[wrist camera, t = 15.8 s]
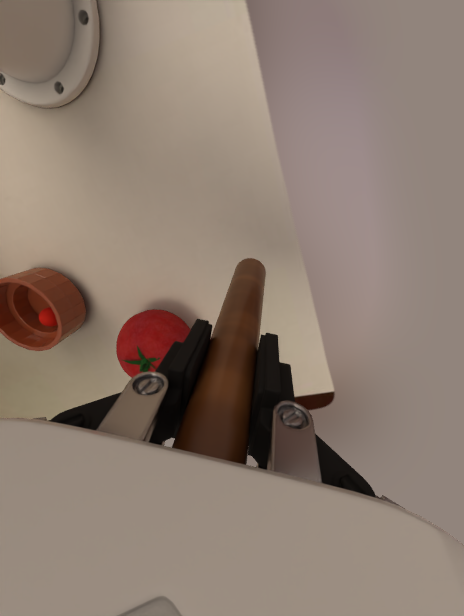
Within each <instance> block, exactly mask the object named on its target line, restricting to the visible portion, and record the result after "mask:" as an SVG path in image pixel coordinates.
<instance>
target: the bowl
mask: <svg viewBox="0 0 464 616" xmlns="http://www.w3.org/2000/svg"><path fill="white" fill-rule="evenodd" d="M48 307H51V309H52V310H53V312H54V314H55V316H56V320H57V324H58V325H56V326H45V325H43V324H42V323H41V322H40V320H39V314H40V312H41V311H42V310H43V309H45V308H48ZM85 315H86V309H85V304H84V300H83V298H82V296H81V294H80V292H79V290H78V289H77V288H76V287H75V286H74V284H73V283H72V282H71V281H70V280H69V279H67V278H66V277H65V276H63V275H62V274H60V273H58V272H56V271H53V270H51V269H48V268H33V269H30V270H26V271H23V272H20V273H17V274H14V275H11V276H8V277H4V278H1V279H0V332H1V333H2V334H3V335H4V336H5V337H6V338H7V339H8V340H10V341H11V342H13V343H15V344H16V345H18V346H20V347H23V348H26V349H28V350H35V351H43V350H48V349H51V348H52V347H54V346H55V345H57V344H58V343H59V342H61V341H62V340H64V339H65V338H66V337H68V336H69V335H71V334H72V333H74V332H75V331H76V330H78V329H79V328H80V327H81V326H82V324H83V322H84V321H85Z"/></svg>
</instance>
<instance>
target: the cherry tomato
mask: <svg viewBox="0 0 464 616" xmlns="http://www.w3.org/2000/svg"><path fill="white" fill-rule="evenodd" d="M39 320H40V322H41V323H42V324H43V325H45V326H56V325H58V324H57V320H56V316H55V314H54V312H53V310H52V309H51V307H48V308H45V309H43V310H42V311H41V312H40V314H39Z"/></svg>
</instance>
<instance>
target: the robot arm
mask: <svg viewBox="0 0 464 616" xmlns="http://www.w3.org/2000/svg"><path fill="white" fill-rule="evenodd" d="M99 41H100V31H99V15H98V8H97V1H96V0H0V89H1V90H3V91H4V92H5V93H7V94H8V95H10V96H12V97H14V98H15V99H17V100H19V101H21V102H24V103H27V104H30V105H33V106H36V107H43V108H53V107H59V106H62V105H64V104H67V103H69V102H71V101H72V100H73V99H75V98H76V97H77V96H78V95H79V94H80V93H81V92H82V91H83V89H84V88H85V87H86V86H87V84H88V82H89V80H90V78H91V76H92V74H93V71H94V68H95V64H96V61H97V57H98V49H99ZM211 331H212V325H211V324H209V322H208V321H205V320H200V319H197V320H196V322H195V324H194V325H193V327H192V329H191V330H190V332H189V334H188V336H187V337H186V339H185V341H184V342H178V341H175V342H174V343H173V344H172V346H171V347H170V349H169V350H168V352H167V354H166V355H165V357H164V358H163V360H162V361H161V363H160V364H159V366H158V367H157V369H156V371H155V372H151V371H149V372H143V373H140V374H137V375H136V376H134V377H133V378H132V379H131V380H130V381H129V382H128V384H127V385H126V387H125V388H124V390H123V391H122V392H121V393H118V394H115V395H112V396H109V397H106V398H103V399H100V400H97V401H94V402H91V403H88V404H85V405H82V406H78V407H75V408H72V409H69V410H67V411H64V412H62V413H60V414H58V415H57V416H55V417H54V418H52V419H51V420H48V421H47V419H46V417H43V418H34V419H26V418H0V616H464V545H463V544H462V543H460V542H459V541H458V540H456V539H455V538H454V537H453V536H451V535H450V534H448V533H447V532H445V531H444V530H443V529H441V528H439V527H438V526H436V525H434V524H432V523H431V522H429V521H427V520H425V519H424V518H422V517H421V516H418V515H417V514H414V513H412V512H410V511H408V510H406V509H405V508H403V507H401V506H400V505H398V504H396V503H395V502H393V501H391V500H390V499H388V498H387V497H385V496H383V495H382V497H381V498H379V497H378V496H376V495H375V493H374V491H373V490H372V488H371V486H370V485H369V484H368V483H367V482H366V480H365V479H364V478H363V477H362V476H361V475H359V474H358V473H357V472H356V471H355V470H354V469H353V468H352V467H351V466H350V465H349V464H347V462H345V461H344V460H343V459H342V458H341V457H340V456H339V455H338V454H337V453H336V452H335V451H333V450H332V449H331V448H330V447H329V446H328V445H327V444H326V443H325V442H324V441H323V440H322V439H320V438H319V437H318V436H317V435H316V434H315V430H314V423H313V419H312V416H311V414H310V413H309V411H308V410H307V409H306V408H305V407H303V406H302V405H300V404H298V403H296V402H295V399H294V391H293V383H292V375H291V367H290V365H289V364H285V363H280V362H279V349H278V335H275V334H270V333H266V335H261V338H260V342H259V347H258V352H257V362H256V371H255V381H254V391H253V400H252V410H251V420H250V434H249V444H248V446H249V447H248V455H251V456H252V457H253V458H254V459H255V460H256V462H257V467H253V466H248V465H244V464H240V463H236V462H231V461H227V460H223V459H218V458H214V457H210V456H206V455H201V454H197V453H193V452H188V451H184V450H180V449H175V448H171V447H166V446H164V443H165V441H166V440H167V439H170V438H175V437H176V435H177V432H178V429H179V426H180V423H181V421H182V418H183V415H184V412H185V409H186V407H187V404H188V401H189V399H190V396H191V393H192V390H193V387H194V385H195V382H196V379H197V376H198V373H199V371H200V368H201V365H202V362H203V359H204V356H205V354H206V351H207V348H208V345H209V342H210V338H211Z"/></svg>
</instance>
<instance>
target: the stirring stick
mask: <svg viewBox="0 0 464 616" xmlns="http://www.w3.org/2000/svg"><path fill="white" fill-rule="evenodd" d="M265 276H266V270H265V267H264V265H263V264H262V263H261V262H260V261H258V260H256V259H252V258H248V259H244V260H242V261H241V262H239V263H238V265H237V267H236V269H235V272H234V275H233V278H232V280H231V283H230V286H229V289H228V292H227V294H226V297H225V300H224V303H223V306H222V308H221V311H220V314H219V317H218V320H217V322H216V325H215V328H214V331H213V334H212V336H211V339H210V342H209V345H208V348H207V351H206V354H205V356H204V359H203V362H202V365H201V368H200V371H199V373H198V376H197V379H196V382H195V385H194V387H193V390H192V393H191V396H190V399H189V401H188V404H187V407H186V409H185V412H184V415H183V418H182V421H181V423H180V426H179V429H178V432H177V435H176V437H175V440H174V443H173V446H172V448H175V449H180V450H184V451H188V452H193V453H197V454H201V455H206V456H210V457H214V458H218V459H223V460H227V461H231V462H236V463H240V464H244V465H246V463H247V454H248V444H249V434H250V420H251V410H252V400H253V391H254V381H255V371H256V362H257V352H258V345H259V335H260V325H261V315H262V305H263V296H264V286H265Z"/></svg>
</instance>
